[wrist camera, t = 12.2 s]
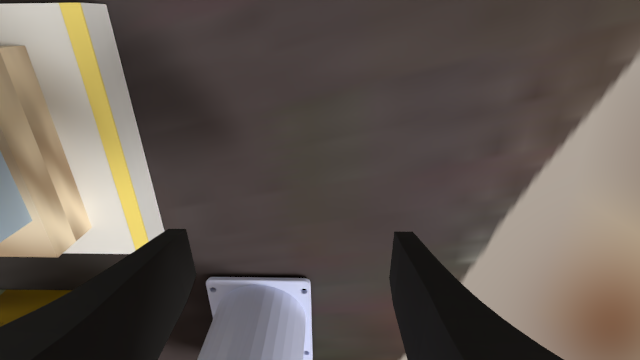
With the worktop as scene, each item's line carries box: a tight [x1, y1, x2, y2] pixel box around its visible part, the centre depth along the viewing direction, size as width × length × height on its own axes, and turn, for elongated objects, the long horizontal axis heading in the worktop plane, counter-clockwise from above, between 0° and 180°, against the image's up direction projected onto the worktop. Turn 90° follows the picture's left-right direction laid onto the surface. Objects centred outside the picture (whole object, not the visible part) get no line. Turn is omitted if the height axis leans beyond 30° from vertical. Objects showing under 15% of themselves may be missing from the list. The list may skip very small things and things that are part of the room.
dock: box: [0, 3, 164, 254], centre depth 20 cm, size 15×12×2 cm
